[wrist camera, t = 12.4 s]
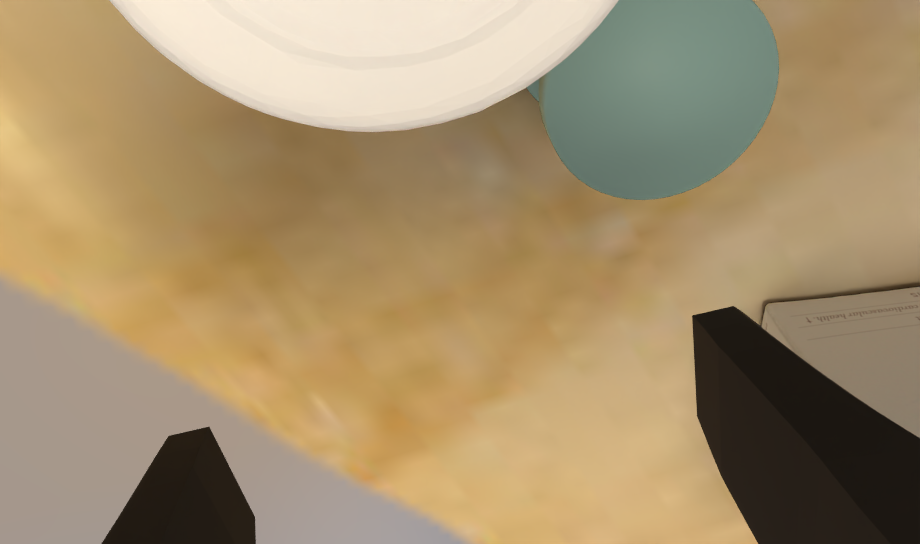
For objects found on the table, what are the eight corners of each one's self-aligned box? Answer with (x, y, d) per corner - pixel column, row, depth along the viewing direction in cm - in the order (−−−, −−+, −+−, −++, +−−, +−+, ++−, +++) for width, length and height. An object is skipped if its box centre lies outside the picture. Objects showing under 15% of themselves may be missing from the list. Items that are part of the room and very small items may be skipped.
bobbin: (694, -103, 19) (781, -52, 15) (701, 88, 22) (777, 171, 18) (491, -56, 19) (529, 7, 16) (522, 130, 22) (561, 221, 18)
